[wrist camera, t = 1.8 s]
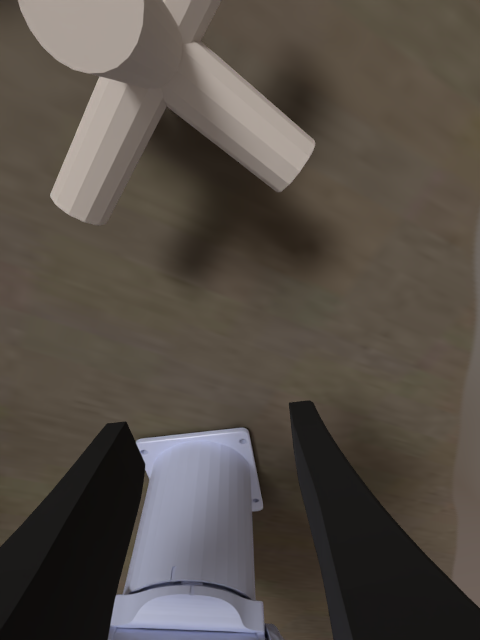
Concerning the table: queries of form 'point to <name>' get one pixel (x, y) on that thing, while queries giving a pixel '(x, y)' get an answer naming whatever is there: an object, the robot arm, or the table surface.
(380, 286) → the table surface
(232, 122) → the pipe connector
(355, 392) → the table surface
